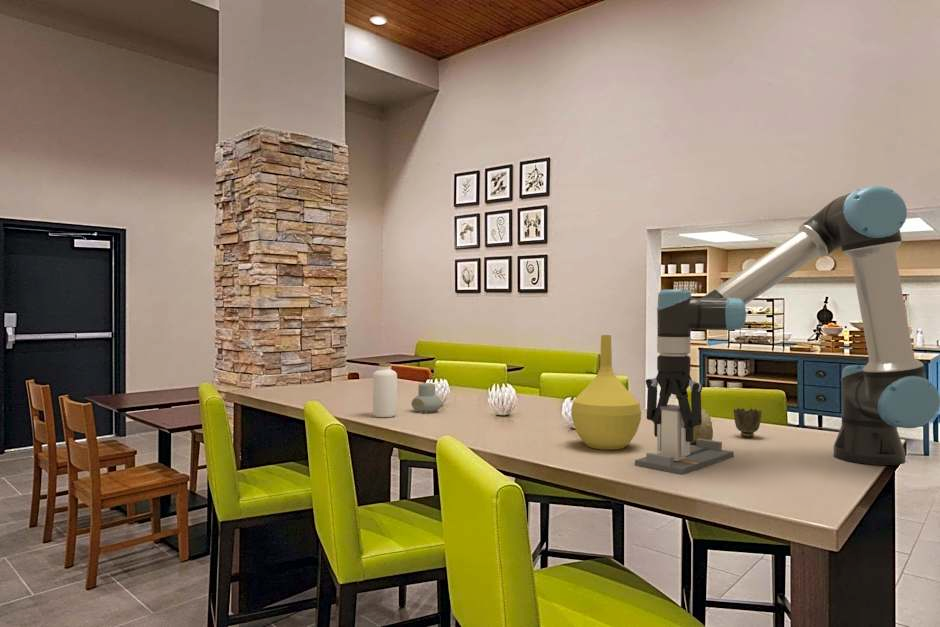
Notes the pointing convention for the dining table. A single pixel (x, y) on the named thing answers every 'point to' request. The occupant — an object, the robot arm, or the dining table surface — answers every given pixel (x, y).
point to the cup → (747, 421)
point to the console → (687, 458)
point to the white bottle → (384, 391)
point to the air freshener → (426, 399)
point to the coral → (703, 428)
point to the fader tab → (671, 431)
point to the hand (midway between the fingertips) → (673, 452)
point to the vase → (606, 408)
